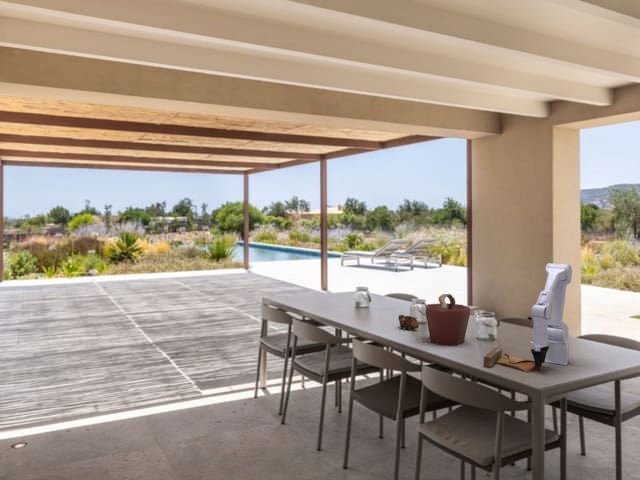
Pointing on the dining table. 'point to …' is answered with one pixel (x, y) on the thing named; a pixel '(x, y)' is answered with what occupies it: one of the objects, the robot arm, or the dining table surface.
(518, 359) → the sunglasses case
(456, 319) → the bucket
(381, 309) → the dining table surface
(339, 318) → the dining table surface
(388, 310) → the dining table surface
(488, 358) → the stop bar
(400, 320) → the decorative turtle
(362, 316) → the dining table surface
